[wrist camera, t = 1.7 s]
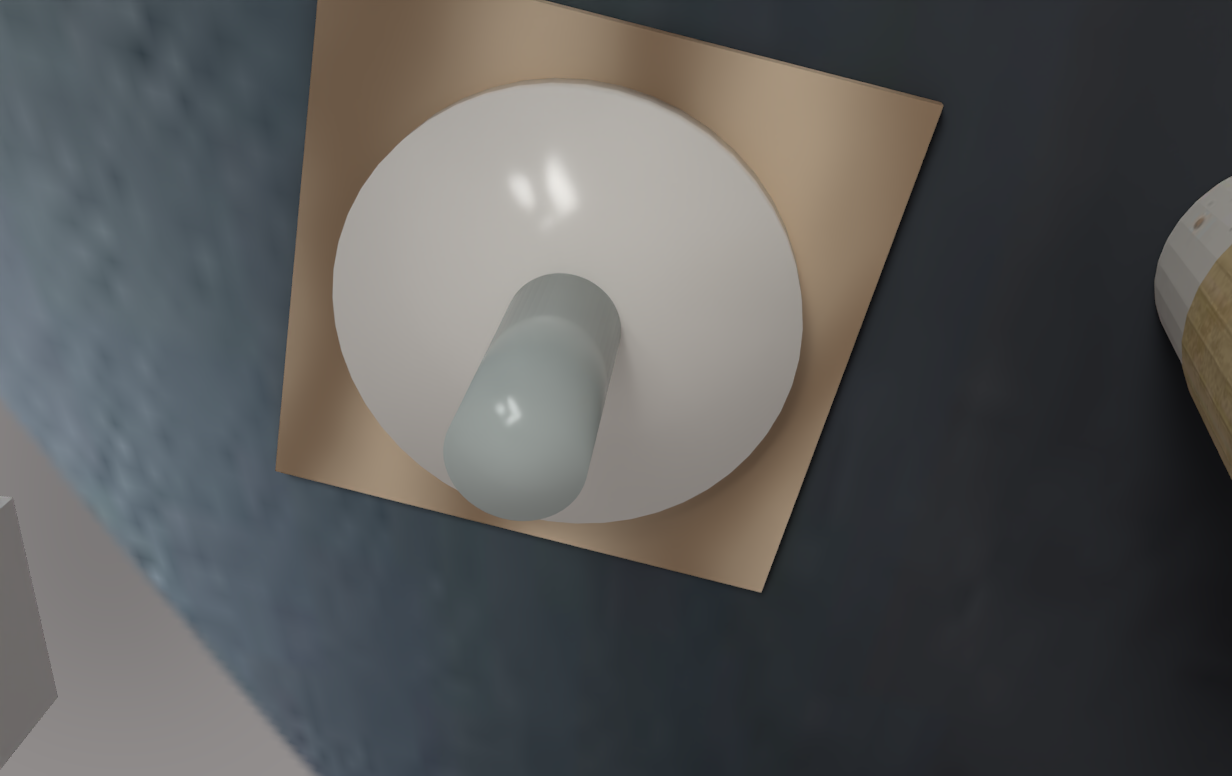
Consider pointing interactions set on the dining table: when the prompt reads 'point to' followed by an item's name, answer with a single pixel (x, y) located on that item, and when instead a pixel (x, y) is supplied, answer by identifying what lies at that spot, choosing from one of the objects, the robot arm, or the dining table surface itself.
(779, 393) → the lid
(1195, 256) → the coffee cup
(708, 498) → the mat
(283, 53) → the dining table surface
